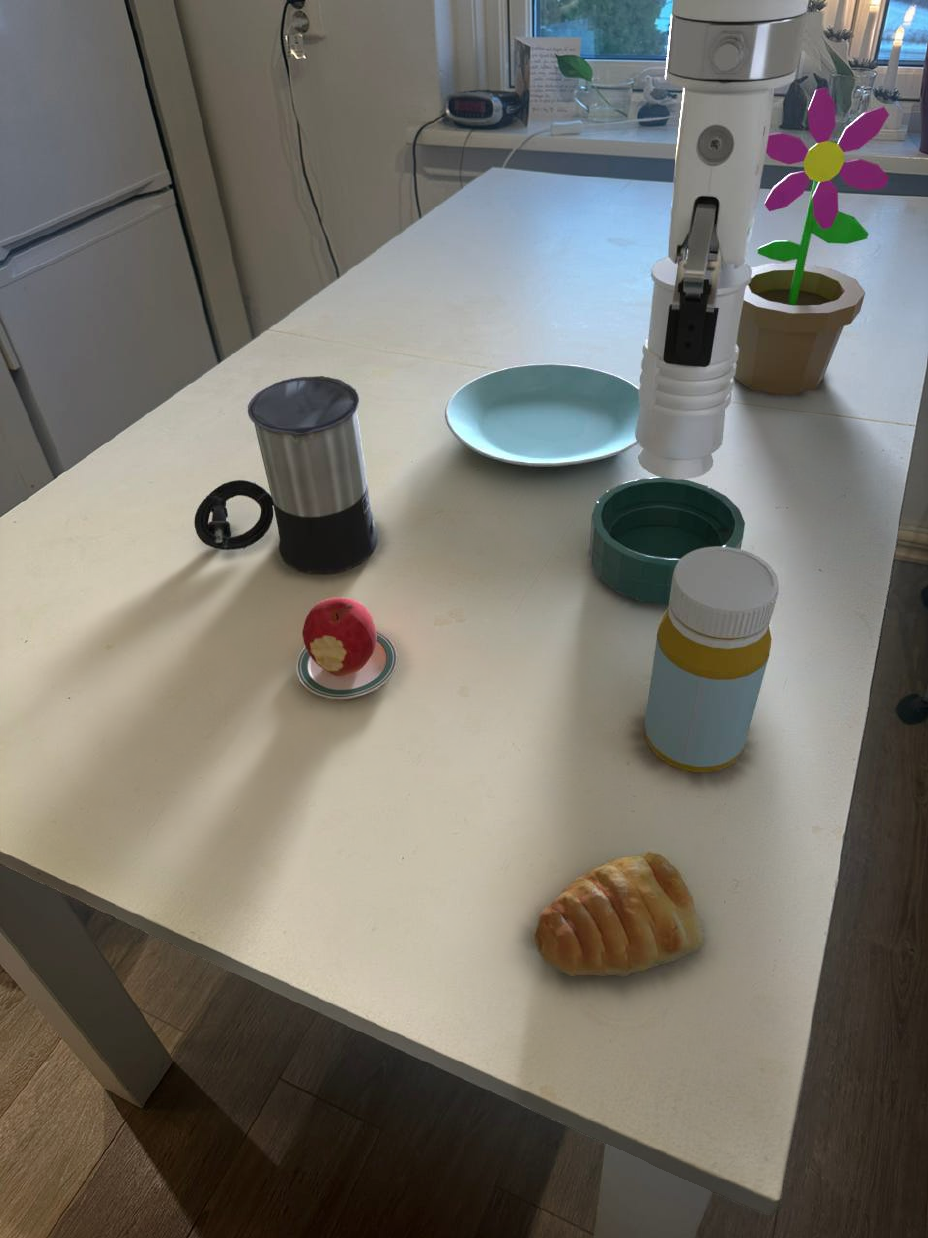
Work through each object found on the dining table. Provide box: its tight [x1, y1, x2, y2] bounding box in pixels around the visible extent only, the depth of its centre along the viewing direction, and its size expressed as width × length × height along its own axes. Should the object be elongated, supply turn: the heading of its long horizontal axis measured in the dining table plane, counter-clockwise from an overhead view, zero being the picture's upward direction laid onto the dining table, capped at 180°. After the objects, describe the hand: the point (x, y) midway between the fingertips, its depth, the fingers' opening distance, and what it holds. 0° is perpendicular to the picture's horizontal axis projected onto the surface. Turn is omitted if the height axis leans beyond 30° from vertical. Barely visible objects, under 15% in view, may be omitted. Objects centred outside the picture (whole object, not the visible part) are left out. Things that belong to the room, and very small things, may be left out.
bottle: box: [643, 546, 780, 773], centre depth 57 cm, size 7×7×15 cm
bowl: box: [588, 476, 746, 606], centre depth 75 cm, size 13×13×5 cm
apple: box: [295, 597, 398, 700], centre depth 67 cm, size 8×8×6 cm
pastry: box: [534, 851, 704, 977], centre depth 51 cm, size 9×7×4 cm
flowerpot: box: [734, 86, 890, 395], centre depth 92 cm, size 14×14×30 cm
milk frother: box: [193, 375, 379, 575], centre depth 77 cm, size 14×16×15 cm
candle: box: [635, 252, 752, 480], centre depth 65 cm, size 7×7×15 cm
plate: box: [444, 363, 641, 468], centre depth 94 cm, size 22×22×3 cm
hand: (692, 339), depth 63 cm, fingers closed on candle, 6 cm apart
